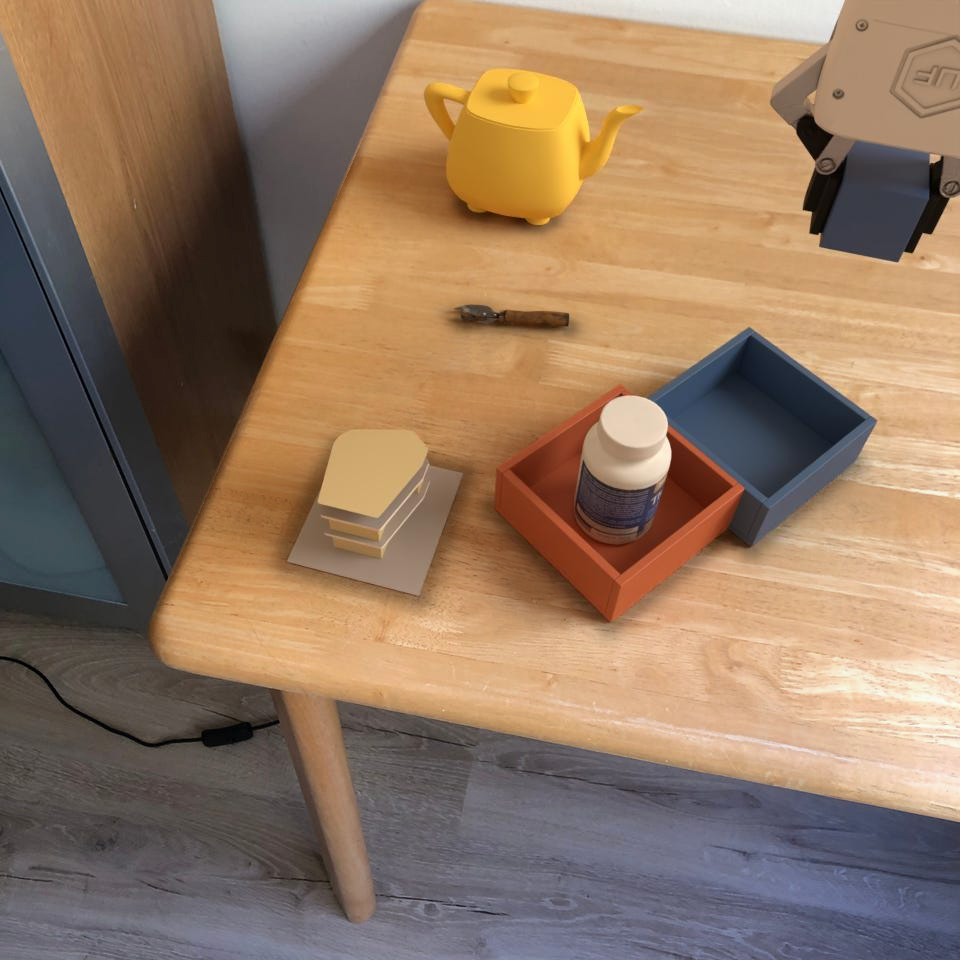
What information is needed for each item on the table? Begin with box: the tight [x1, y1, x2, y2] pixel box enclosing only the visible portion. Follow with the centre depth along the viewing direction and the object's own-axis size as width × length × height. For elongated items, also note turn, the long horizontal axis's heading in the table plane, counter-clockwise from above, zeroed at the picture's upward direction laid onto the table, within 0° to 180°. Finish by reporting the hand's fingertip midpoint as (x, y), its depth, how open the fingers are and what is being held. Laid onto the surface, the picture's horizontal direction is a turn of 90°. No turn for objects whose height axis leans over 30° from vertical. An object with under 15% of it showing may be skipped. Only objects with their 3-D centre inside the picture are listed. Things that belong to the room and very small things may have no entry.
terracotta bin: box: [493, 383, 745, 623], centre depth 63 cm, size 11×11×5 cm
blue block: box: [818, 141, 931, 264], centre depth 55 cm, size 4×4×4 cm
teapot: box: [423, 68, 644, 226], centre depth 80 cm, size 18×11×11 cm, turn 73°
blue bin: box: [645, 326, 878, 548], centre depth 66 cm, size 11×11×5 cm
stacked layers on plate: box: [286, 428, 464, 597], centre depth 62 cm, size 10×9×6 cm
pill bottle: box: [574, 395, 671, 545], centre depth 60 cm, size 5×5×10 cm
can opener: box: [453, 303, 570, 328], centre depth 75 cm, size 9×2×1 cm, turn 80°
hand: (862, 226), depth 57 cm, fingers closed on blue block, 4 cm apart
